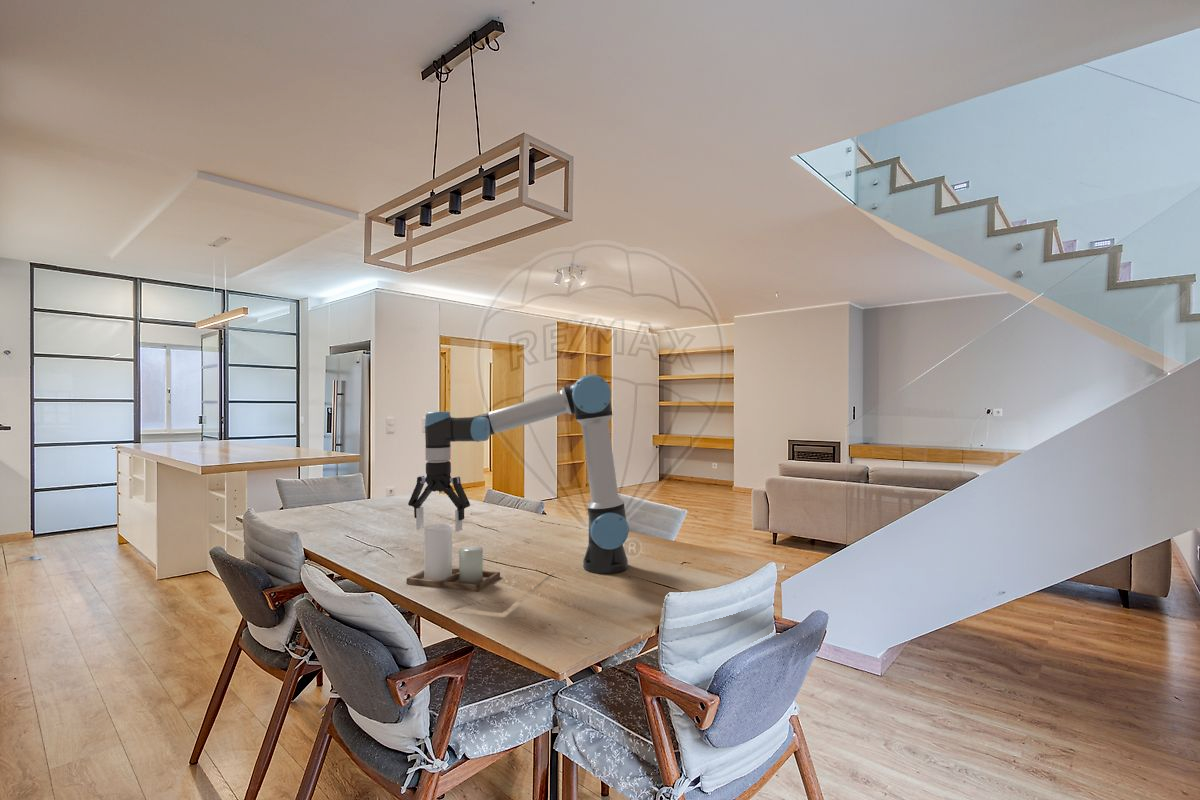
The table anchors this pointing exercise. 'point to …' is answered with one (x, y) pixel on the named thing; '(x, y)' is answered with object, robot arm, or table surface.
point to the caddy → (454, 581)
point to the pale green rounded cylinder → (471, 565)
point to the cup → (438, 552)
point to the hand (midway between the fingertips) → (439, 529)
